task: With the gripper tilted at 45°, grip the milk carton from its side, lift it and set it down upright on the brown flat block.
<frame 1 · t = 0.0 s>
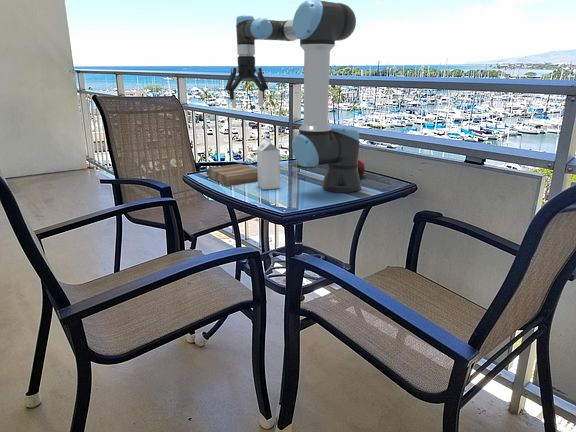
hand: (247, 107, 185), 28 cm above the table, tool pointing down, fingers open, 13 cm apart
plant pot: (304, 166, 201), on the table
milk carton: (268, 187, 165), on the table
fruit: (353, 177, 180), on the table
brown flat block: (234, 178, 177), on the table
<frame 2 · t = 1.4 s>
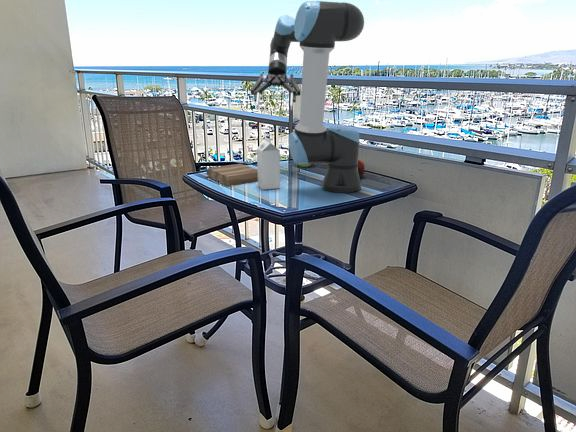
hand: (274, 107, 166), 29 cm above the table, tool tilted 45°, fingers open, 13 cm apart
nothing on the table moved.
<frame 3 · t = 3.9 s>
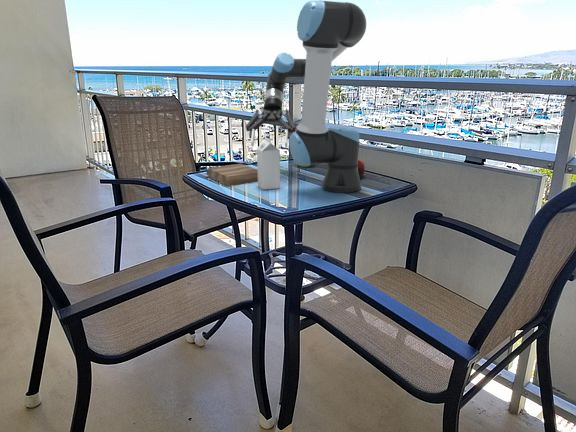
hand: (268, 144, 166), 16 cm above the table, tool tilted 45°, fingers open, 13 cm apart
nothing on the table moved.
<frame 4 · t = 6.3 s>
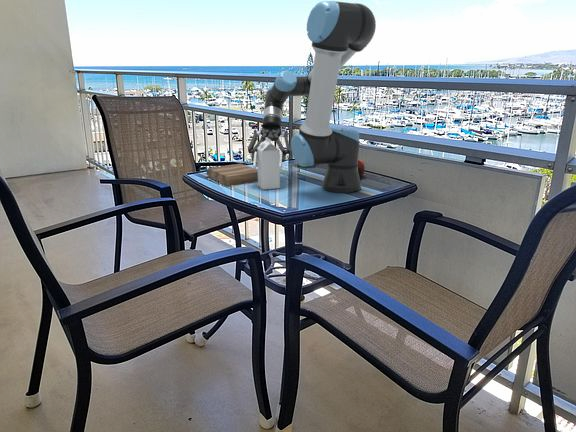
hand: (267, 168, 159), 8 cm above the table, tool tilted 45°, fingers closed on milk carton, 9 cm apart
milk carton: (268, 187, 165), on the table, touching gripper
everything else where it was.
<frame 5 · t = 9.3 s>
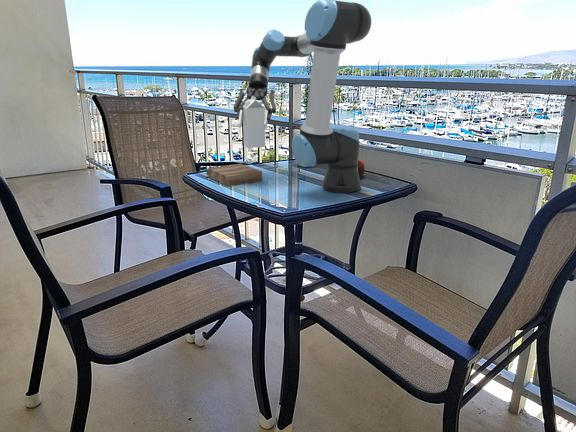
hand: (252, 125, 159), 23 cm above the table, tool tilted 45°, fingers closed on milk carton, 9 cm apart
milk carton: (254, 146, 165), point 15 cm above the table, touching gripper
everything else where it was.
when the fingers open (14 cm above the table, at t = 12.6 s): milk carton drops 1 cm, resting on brown flat block.
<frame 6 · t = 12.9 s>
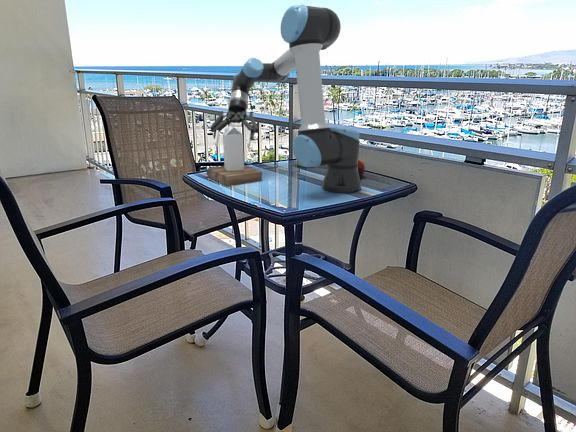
hand: (232, 145, 170), 15 cm above the table, tool tilted 45°, fingers open, 13 cm apart
milk carton: (234, 169, 176), point 4 cm above the table, touching brown flat block
everything else where it was.
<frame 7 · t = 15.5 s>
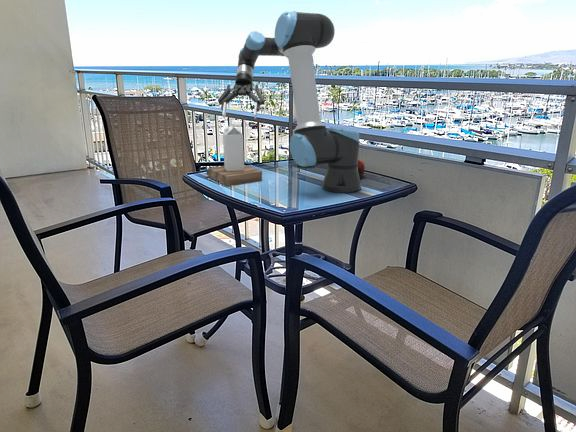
hand: (239, 116, 179), 25 cm above the table, tool tilted 45°, fingers open, 13 cm apart
nothing on the table moved.
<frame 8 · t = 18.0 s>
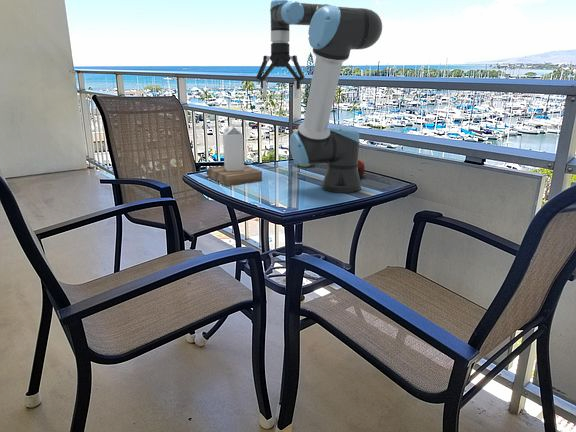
hand: (280, 97, 176), 33 cm above the table, tool pointing down, fingers open, 13 cm apart
nothing on the table moved.
at the end: milk carton inside the target area on the brown flat block (0.2 cm from its centre), point 3.8 cm above the brown flat block's base; milk carton tilted 0°; the gripper is holding nothing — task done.
